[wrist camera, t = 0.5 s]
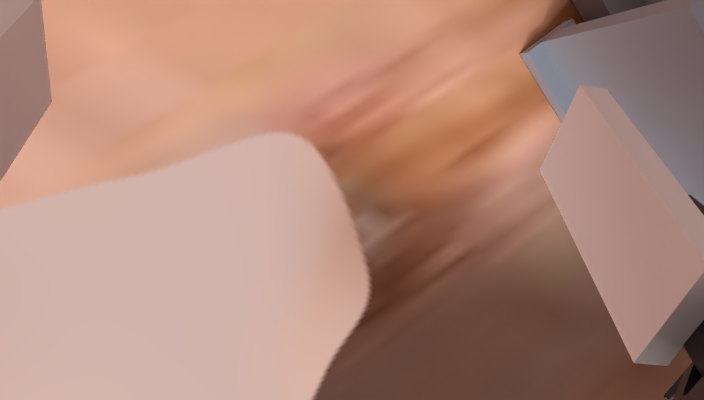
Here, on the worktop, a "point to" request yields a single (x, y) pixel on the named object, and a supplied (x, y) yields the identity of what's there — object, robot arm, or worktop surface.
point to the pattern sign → (637, 76)
